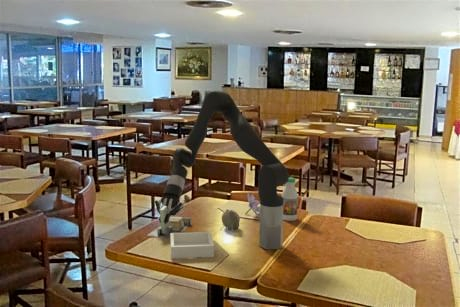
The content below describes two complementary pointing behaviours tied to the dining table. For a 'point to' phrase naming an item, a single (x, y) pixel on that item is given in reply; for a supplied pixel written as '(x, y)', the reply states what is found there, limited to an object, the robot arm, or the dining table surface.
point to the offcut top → (175, 221)
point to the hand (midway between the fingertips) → (163, 222)
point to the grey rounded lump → (230, 219)
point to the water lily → (253, 205)
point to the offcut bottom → (177, 226)
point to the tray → (191, 245)
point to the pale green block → (162, 217)
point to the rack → (170, 229)
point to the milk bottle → (290, 201)
